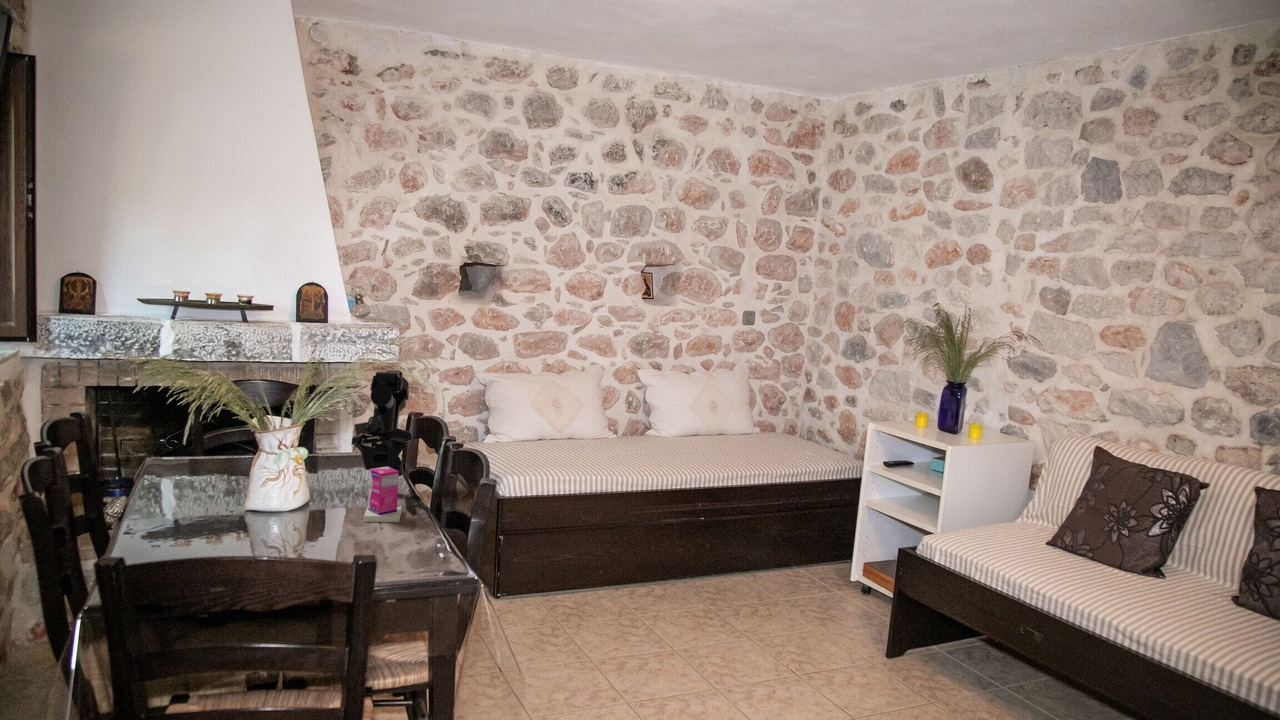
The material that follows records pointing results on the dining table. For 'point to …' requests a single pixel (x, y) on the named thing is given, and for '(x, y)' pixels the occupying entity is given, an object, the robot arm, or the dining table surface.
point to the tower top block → (382, 516)
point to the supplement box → (383, 490)
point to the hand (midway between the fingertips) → (378, 468)
